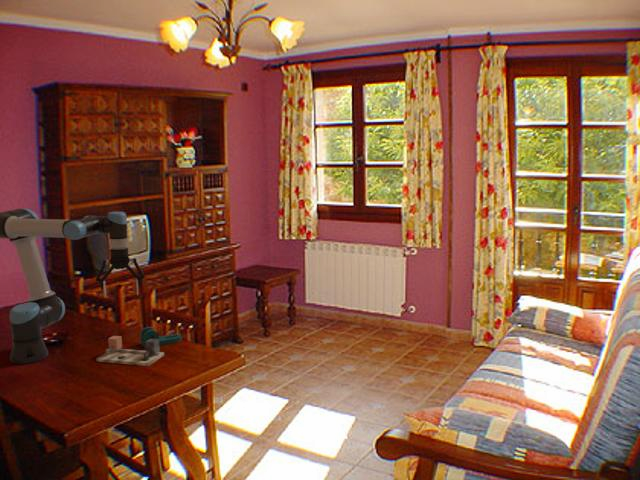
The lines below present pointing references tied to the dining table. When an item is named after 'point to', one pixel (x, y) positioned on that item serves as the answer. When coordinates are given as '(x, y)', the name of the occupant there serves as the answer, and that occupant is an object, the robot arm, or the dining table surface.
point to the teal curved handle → (163, 340)
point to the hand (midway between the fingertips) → (121, 295)
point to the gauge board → (134, 355)
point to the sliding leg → (114, 343)
